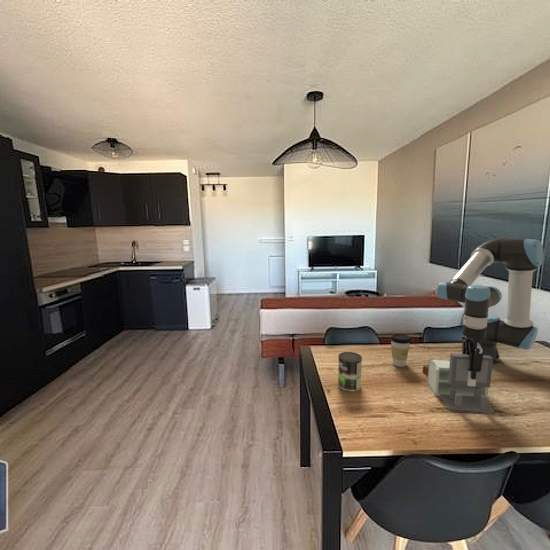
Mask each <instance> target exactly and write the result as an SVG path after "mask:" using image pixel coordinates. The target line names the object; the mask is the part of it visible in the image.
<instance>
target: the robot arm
mask: <svg viewBox="0 0 550 550" xmlns="http://www.w3.org/2000/svg"><path fill="white" fill-rule="evenodd" d="M544 251H545V250H544V246H543V243H542V242H541V241H540V240H539V239H533V238H532V239H531V238H530V239H529V238H503V237H502V238H500V237H499V238H494V239H490V240H488V241H486V242H484V243H482V244H480V245H478V246H477V247H476V248H474V250H472V252H471V255H470V257H469V259H468V260H467V261H466V262H465V264H463V266H462V267H461V268H460V269H459V270H458V271H457V272H456V273H455V274H454V276H453V277H452V278H451V279H450V280H449V281H441V282H439V283H438V285H437V286H436V295H437V297H438V298H439V299H442V300H446V301H452V302H457V303H464V309H463V311H464V313H463V317H462V320H463V325H462V337H461V341H462V348H461V349H462V350H461V352H462V353H461V354H468V355H470V369H468V379H467V386H476V376H477V372H481V366H482V360H483V355H488V356H491V357H492V358H493V364H498V363H499V362H500V354H499V349H498V344H501V345H503V346H504V345H505V346H508V347H512V348H513V347H514V348H517V349H521V350H525V351H526V350H527V351H529V350H530V349H532V347H533V346H534V343H535V341H536V338H537V335H538V327H536V326H534V322H533V320H531V319H530V315H531V301H532V300H531V299H532V287H533V286H532V285H533V276H534V275H533V274H534V272H536V271H537V270H538V267H540V266H542V264H543V263H544V257H545V255H544V254H545V253H544ZM493 263H494V264H496V263H498V264H505V265H504V268H505V269H506V270H507V271H508V282H507V283H508V286H507V288H508V289H507V305H506V306H507V307H506V309H507V310H506V316H505V317H503V319H502V320H501V318H500V316H499V315H494V314H489V308H491V307H495V306H496V305H497V304H499V303H500V302H501V300H502V298H503V295H502V291H501V290H500V289H499V288H498V287H496V286H489V285H488V286H487V285H479V284H473V283H474V282H475V281H476V280H477V279H478V278H479V276H480V275H481V274H482V273H483V271H484V270H485V269H486V268H487V267H488V266H491V265H492V264H493Z"/></svg>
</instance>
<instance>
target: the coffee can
mask: <svg viewBox="0 0 550 550" xmlns="http://www.w3.org/2000/svg"><path fill="white" fill-rule="evenodd" d="M337 357H338V371H337V372H338V373H337V374H338V376H337V377H338V378H337V379H338V380H337V386H338V388H339V389H341V390H343V391H346V392H357V391H359V390H360V389H362V364H363V363H362V361H363V356H362V355H361V354H359V353H357V352H353V351H344V352H339V354H338V356H337Z"/></svg>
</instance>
